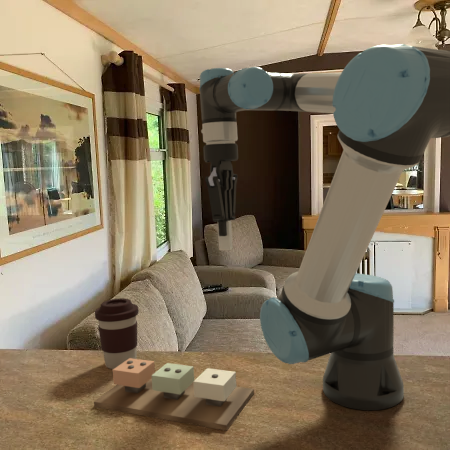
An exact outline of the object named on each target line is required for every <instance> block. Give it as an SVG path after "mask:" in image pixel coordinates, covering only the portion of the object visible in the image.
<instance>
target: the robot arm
mask: <svg viewBox="0 0 450 450" xmlns="http://www.w3.org/2000/svg"><path fill="white" fill-rule="evenodd" d="M198 90H199V97H200V98H199V99H200V111H201V122H202V123H201V125H202V129H201V130H200V132H201V134H202V141H203V143H205V145H203V148H202V149H203V161H204V162H205V163H210V169H209V174H210V175H209V176H205V178H204V181H205V184H206V187H207V192H208V198H209V204H210V205H209V206H210V210H211V211H210V212H211V217H212V221H213V222H215V223H216V222H217V238H218V251H232V250H233V249H234V247H233V246H234V245H233V230H232V229H233V227H232V221H236V207H237V206H236V203H237V201H236V200H237V199H236V198H237V184H238V174H237V173H234V170H233V169H234V168H233V164H232V162H236V161H238V159H239V149H238V148H239V146H238V144H237V143H236V142H237V141H238V139H239V138H238V125H237V113H238V112H243V111H286V112H289V111H291V112H304V113H305V112H308V113H310V112H311V113H322V114H332V115H333V119H334V122H335V124H336V126H337V127H338V129H339V130H338V133H337V139H338V141H339V143H340V145H341V147H342V149H343V151H342V153H341V156H340V158H339V162H338V164H337V167H336V169H335V173H334V174H333V177H332V180H331V183H330V186H329V188H328V191H327V194H326V197H325V199H324V201H323V204H322V207H321V210H320V212H319V215H318V218H317V221H316V223H315V225H314V229H313V231H312V234H311V237H310V239H309V242H308V244H307V247H306V250H305V253H304V255H303V258H302V260H301V263H300V266H299V269H298V271H296V272H292V273H291V274H290V275H289V276H287V277H286V279H285V281H284V283H283V286H282V289H281V292H280V293H279V295H278V296H277V297H275V296H273V297H270V298H269V299H267V300H265V301H264V302H263V303H262V304H261V307H260V310H259V311H260V312H259V322H260V328H261V332H262V335H263V337H264V340H265V342H266V345H267V346H268V348H269V349H270V352H271V353H272V354H273V355H274V356H275V358H277V359H278V360H279V361H281V362H282V363H284V364H288V365H294V364H295V365H296V364H299V363H307V362H308V361H310V360H314V359H317V358H321V357H323V356H326V355H329V358H328V361H327V364H326V367H325V370H324V373H323V378H322V390H323V394H324V395H325V396H326V398H327V399H328V400H330V401H332V402H333V403H335V404H336V405H340V406H341V407H346V408H350V409H353V410H361V411H379V410H386V409H389V408H392V407H395V406H397V405H398V404H400V403H401V402H402V401H403V399H404V396H405V395H404V394H405V393H404V385H405V384H404V382H403V379H402V374H401V372H400V370H399V366H398V365H397V364H398V363H397V361H396V359H395V355H394V351H395V350H394V343H395V342H394V339H395V337H394V336H395V335H394V331H395V330H394V327H395V324H394V322H395V321H394V319H395V318H394V314H395V313H394V307H395V306H394V305H395V299H394V291H393V285H392V284H391V282H390V281H389V280H388V279H386V278H383V277H381V276H376V275H372V274H366V273H357V271H358V269H359V267H360V265H361V263H362V261H363V259H364V256H365V254H366V252H367V249H369V248H368V247H369V246H370V243H371V241H372V239H373V237H374V235H375V233H376V230H377V228H378V226H379V224H380V221H381V219H382V217H383V215H384V213H385V211H386V208H387V206H388V204H389V202H390V199H391V197H392V195H393V193H394V190H395V188H396V186H397V185H398V182H399V179H400V177H401V175H402V173H403V171H405V170H408V169H410V168H413V167H416V166H418V165H419V164H420V161H421V160H422V157H423V155H424V153H425V151H426V149H427V147H428V146H429V143H430V141H431V139H442V138H449V137H450V50H445V49H438V48H431V47H429V48H428V47H422V46H414V45H408V44H405V43H395V44H380V45H375V46H371V47H368V48H366V49H365V50H363V51H362V52H359V53H358V54H357V55H355V56H354V57H353V58H352V59H351V60H350V61H348V63H347V64H346V66H345V67H344V68H343V70H342V71H341V72H340V71H339V72H317V73H316V72H314V73H313V72H312V73H306V72H305V73H304V72H303V73H284V72H268V71H266V70H265V69H263V68H262V67H259V66H251V67H244V68H241V69H239V70H238V71H233V70H232V69H230V68H228V67H214V68H213V67H212V68H210V69H209V68H208V69H205V70H203V71H202V72H201V73H200V75H199V89H198Z"/></svg>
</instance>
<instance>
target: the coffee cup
mask: <svg viewBox="0 0 450 450" xmlns="http://www.w3.org/2000/svg"><path fill="white" fill-rule="evenodd" d="M139 313H140V312H139V306H138V304H135V303H132V300H131V299H128V298H123V297H122V298H111V299H108V300H104V301H103V302H102V303H101V304H100V306H99V307H98V308H97V309H95V311H94V318H95V319H96V320H97V321H98V325H97V326H98V333H99V334H98V335H99V339H100V345H101V346H100V347H101V350H102V353H103V359H104V364H105V367H106V368H108V369H111V370H113V369H115V368H116V367H117V366H119V365H120V364H122V363H123V362H125V361H126V360H128V359H129V358H132V359H138V358H137V357H138V355H137V354H138V353H137V347H138V320H137V316H138V315H139Z"/></svg>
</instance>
